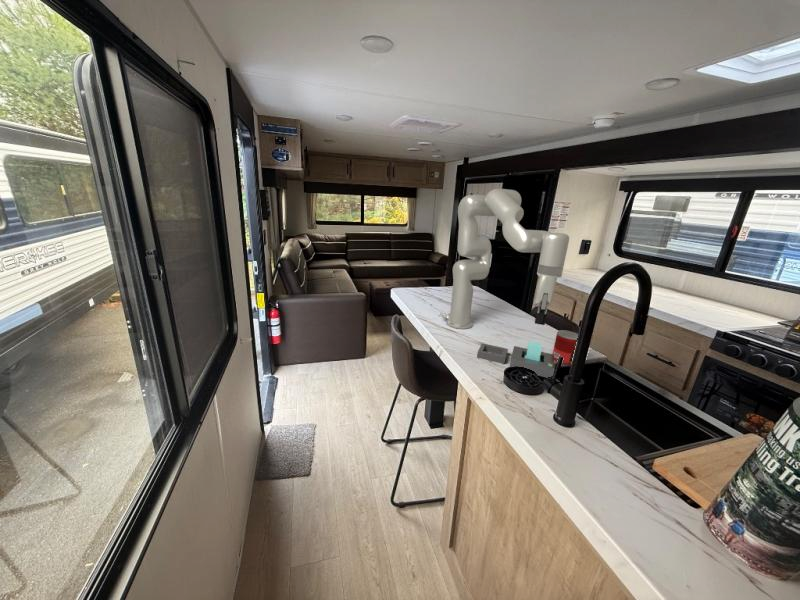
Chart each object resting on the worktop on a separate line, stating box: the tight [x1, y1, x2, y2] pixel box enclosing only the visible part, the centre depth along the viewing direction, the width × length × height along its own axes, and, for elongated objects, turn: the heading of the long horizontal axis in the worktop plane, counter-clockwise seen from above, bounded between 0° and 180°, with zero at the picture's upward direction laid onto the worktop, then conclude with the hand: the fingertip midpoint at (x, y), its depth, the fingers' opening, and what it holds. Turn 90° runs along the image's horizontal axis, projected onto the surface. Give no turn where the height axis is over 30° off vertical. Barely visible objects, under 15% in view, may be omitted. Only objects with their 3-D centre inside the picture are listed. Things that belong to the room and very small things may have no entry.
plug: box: [524, 340, 543, 362], centre depth 111 cm, size 5×4×9 cm
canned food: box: [552, 329, 579, 366], centre depth 117 cm, size 8×8×11 cm
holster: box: [476, 342, 509, 365], centre depth 118 cm, size 10×9×2 cm
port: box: [509, 345, 556, 379], centre depth 111 cm, size 14×12×5 cm
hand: (539, 322), depth 107 cm, fingers open, 2 cm apart
